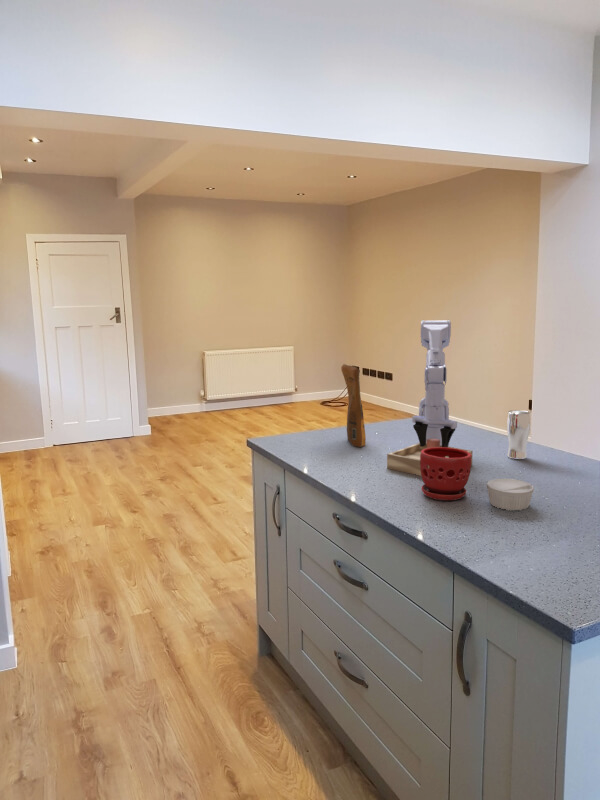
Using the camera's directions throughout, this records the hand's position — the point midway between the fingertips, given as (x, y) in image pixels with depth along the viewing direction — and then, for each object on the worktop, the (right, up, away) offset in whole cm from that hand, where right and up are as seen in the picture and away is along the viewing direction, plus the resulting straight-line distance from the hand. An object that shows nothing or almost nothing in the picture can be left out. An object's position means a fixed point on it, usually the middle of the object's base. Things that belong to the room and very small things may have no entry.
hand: (433, 448), depth 190 cm
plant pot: (-3, -11, -27) cm, 29 cm away
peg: (0, -5, +1) cm, 6 cm away
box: (-1, -6, -1) cm, 6 cm away
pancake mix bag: (-22, -1, +31) cm, 38 cm away
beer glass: (+29, -4, +8) cm, 30 cm away
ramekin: (+11, -12, -35) cm, 39 cm away
